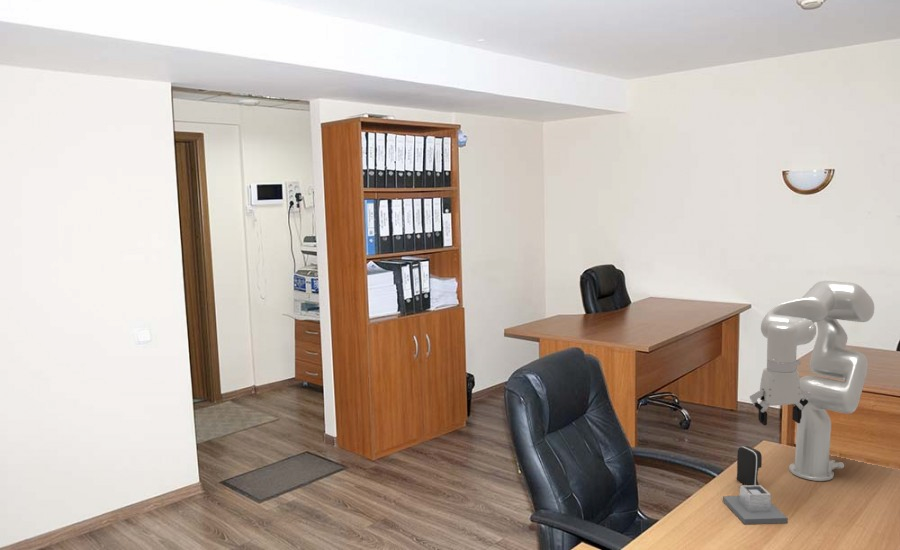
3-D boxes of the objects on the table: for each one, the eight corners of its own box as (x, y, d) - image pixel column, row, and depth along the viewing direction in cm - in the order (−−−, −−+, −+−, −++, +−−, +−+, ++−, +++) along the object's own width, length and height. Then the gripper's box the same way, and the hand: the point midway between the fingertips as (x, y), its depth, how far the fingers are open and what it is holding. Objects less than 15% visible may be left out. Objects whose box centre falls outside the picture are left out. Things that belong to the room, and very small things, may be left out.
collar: (759, 501, 198) (760, 485, 197) (770, 511, 192) (770, 494, 191) (739, 502, 197) (740, 485, 197) (748, 512, 192) (749, 495, 191)
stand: (762, 499, 202) (763, 480, 201) (787, 523, 188) (788, 502, 187) (722, 500, 202) (723, 481, 201) (744, 524, 188) (745, 503, 187)
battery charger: (762, 486, 210) (764, 451, 209) (753, 489, 209) (754, 453, 207) (744, 478, 217) (746, 443, 215) (735, 480, 215) (737, 445, 214)
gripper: (804, 359, 198) (802, 415, 201) (745, 363, 198) (744, 419, 201) (818, 367, 191) (816, 425, 194) (757, 371, 191) (756, 429, 194)
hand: (779, 422), depth 197 cm, fingers open, 9 cm apart
